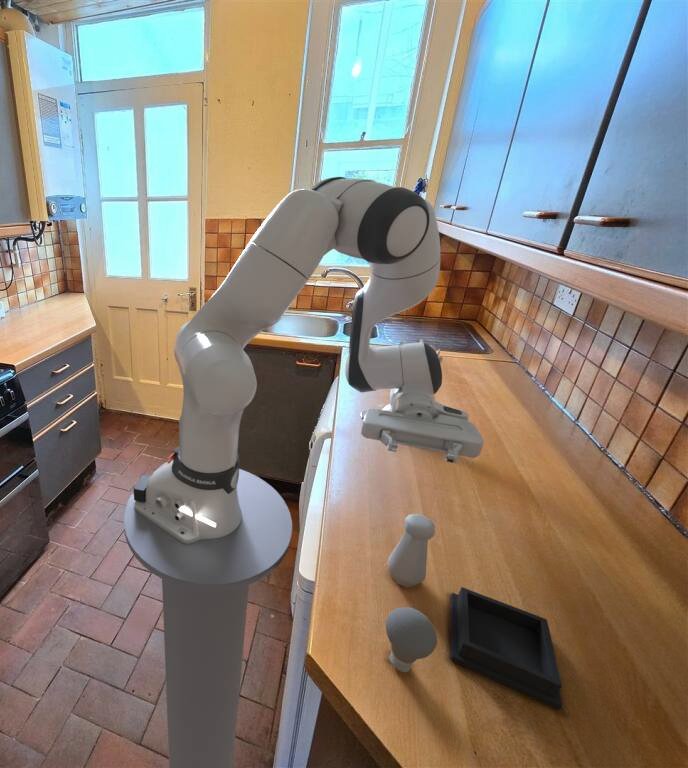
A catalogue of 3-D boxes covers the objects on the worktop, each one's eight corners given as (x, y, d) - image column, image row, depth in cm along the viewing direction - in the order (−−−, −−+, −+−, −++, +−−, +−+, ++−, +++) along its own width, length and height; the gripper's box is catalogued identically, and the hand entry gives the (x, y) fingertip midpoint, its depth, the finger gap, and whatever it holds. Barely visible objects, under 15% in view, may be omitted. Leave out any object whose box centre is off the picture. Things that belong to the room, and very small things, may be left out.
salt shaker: (421, 598, 67) (441, 539, 61) (383, 582, 70) (399, 525, 64) (422, 572, 71) (442, 515, 66) (387, 559, 74) (403, 503, 69)
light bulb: (429, 664, 57) (448, 617, 53) (414, 697, 54) (433, 649, 49) (385, 634, 61) (399, 589, 57) (369, 664, 58) (383, 617, 53)
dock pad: (450, 660, 58) (457, 644, 56) (450, 596, 67) (456, 581, 66) (560, 710, 52) (570, 694, 51) (543, 632, 61) (552, 617, 60)
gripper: (363, 396, 87) (362, 427, 75) (476, 413, 79) (494, 451, 68) (358, 422, 90) (356, 455, 78) (467, 441, 82) (483, 481, 70)
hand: (421, 453), depth 73 cm, fingers open, 8 cm apart
